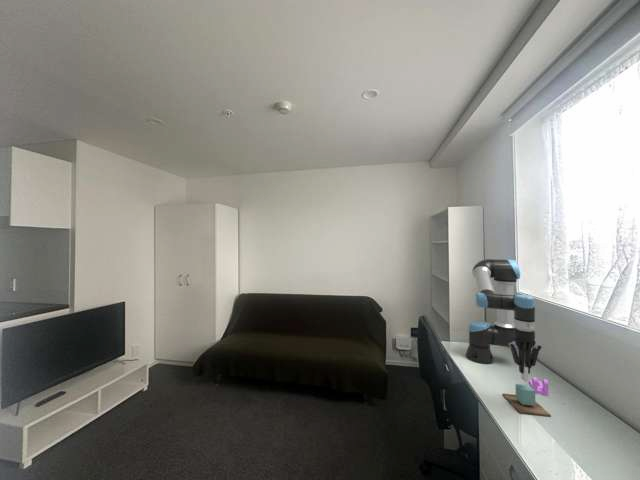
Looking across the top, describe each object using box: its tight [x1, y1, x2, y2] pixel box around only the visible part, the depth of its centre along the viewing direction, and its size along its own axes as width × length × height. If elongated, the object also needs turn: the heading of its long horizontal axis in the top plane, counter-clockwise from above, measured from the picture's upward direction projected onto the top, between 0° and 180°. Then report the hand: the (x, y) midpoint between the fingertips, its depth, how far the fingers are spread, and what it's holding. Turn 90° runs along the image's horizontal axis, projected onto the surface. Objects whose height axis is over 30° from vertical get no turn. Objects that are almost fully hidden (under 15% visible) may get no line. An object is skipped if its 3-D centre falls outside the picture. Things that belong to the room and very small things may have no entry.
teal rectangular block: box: [515, 383, 536, 406], centre depth 118 cm, size 5×5×7 cm
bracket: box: [528, 376, 549, 397], centre depth 133 cm, size 13×6×7 cm, turn 151°
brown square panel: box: [502, 393, 552, 418], centre depth 118 cm, size 14×12×8 cm
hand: (524, 379), depth 119 cm, fingers closed
